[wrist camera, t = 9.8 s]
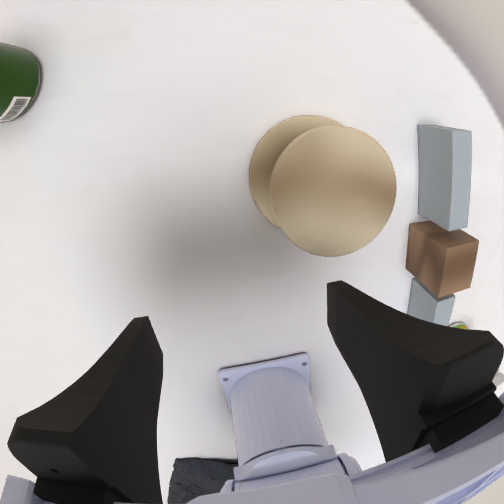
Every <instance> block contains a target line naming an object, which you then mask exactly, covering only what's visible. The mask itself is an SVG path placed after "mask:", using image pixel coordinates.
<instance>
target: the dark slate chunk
mask: <svg viewBox="0 0 504 504" xmlns="http://www.w3.org/2000/svg"><path fill="white" fill-rule="evenodd" d="M173 466H174V471H173V472H172V477H171V480H170V483H169V485H170V487H169V496H168V499H167V500H168V501H167V502H168V504H187V503H188V502H189V501H191V500H193V499H195V498H197V497H199V496H203V495H208V494H214V493H220V491H221V489H222V488H223V486H224V485H225V482H226V481H227V480H232V479H235V477H234V467H238V466H239V464H227V463H224V462H220V461H210V460H204V459H198V458H184V459H178V458H177V459H176V460H175V463H174V464H173Z"/></svg>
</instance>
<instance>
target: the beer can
mask: <svg viewBox="0 0 504 504" xmlns="http://www.w3.org/2000/svg"><path fill="white" fill-rule="evenodd" d="M40 77H41V72H40V68H39V64H38V61H37V60H36V58H35V56H34V55H33V53H31V52H30V51H28V50H26V49H24V48H20V47H17V46H13V45H9V44H5V43H1V42H0V123H5V122H9V121H13V120H14V119H16V118H17V117H19V116H20V115H22V114H23V113H24V112H25V111H26V110H27V108H28V107H29V106H30V105H31V104H32V102H33V100H34V99H35V97H36V95H37V93H38V89H39V86H40Z"/></svg>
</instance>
